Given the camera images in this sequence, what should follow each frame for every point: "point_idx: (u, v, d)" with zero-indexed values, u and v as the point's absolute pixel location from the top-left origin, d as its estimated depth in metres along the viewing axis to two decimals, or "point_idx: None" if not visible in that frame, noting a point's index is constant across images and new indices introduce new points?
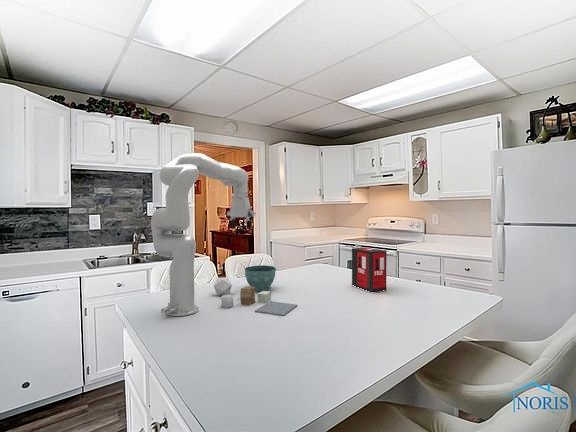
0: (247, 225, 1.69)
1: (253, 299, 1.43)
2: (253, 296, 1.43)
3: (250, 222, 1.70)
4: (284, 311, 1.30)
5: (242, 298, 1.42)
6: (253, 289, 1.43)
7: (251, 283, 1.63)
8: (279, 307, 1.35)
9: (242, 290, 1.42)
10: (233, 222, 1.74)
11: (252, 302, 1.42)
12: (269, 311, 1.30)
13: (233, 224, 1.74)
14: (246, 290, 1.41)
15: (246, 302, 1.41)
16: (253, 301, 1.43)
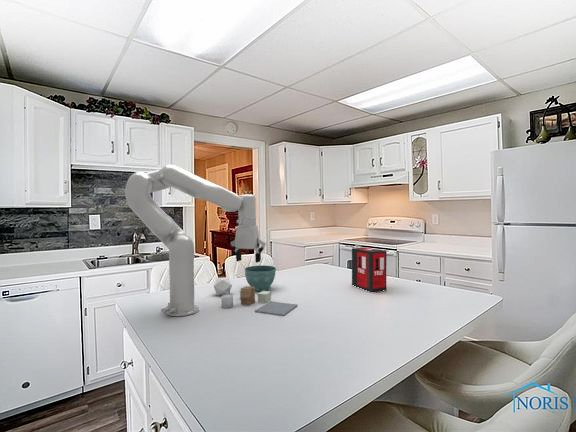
0: (256, 258, 1.39)
1: (253, 299, 1.43)
2: (253, 296, 1.43)
3: (259, 254, 1.40)
4: (284, 311, 1.30)
5: (242, 298, 1.42)
6: (253, 289, 1.43)
7: (251, 283, 1.63)
8: (279, 307, 1.35)
9: (242, 290, 1.41)
10: (239, 254, 1.44)
11: (252, 302, 1.42)
12: (269, 311, 1.30)
13: (239, 256, 1.44)
14: (246, 290, 1.41)
15: (246, 302, 1.41)
16: (253, 301, 1.43)
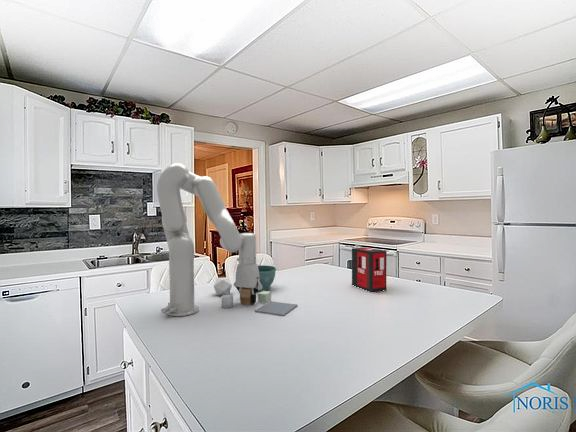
0: (251, 300, 1.41)
1: None
2: None
3: (255, 295, 1.42)
4: (284, 311, 1.30)
5: (242, 298, 1.42)
6: None
7: None
8: (279, 307, 1.35)
9: (242, 290, 1.42)
10: None
11: None
12: (269, 311, 1.30)
13: None
14: (246, 290, 1.41)
15: (246, 302, 1.41)
16: None
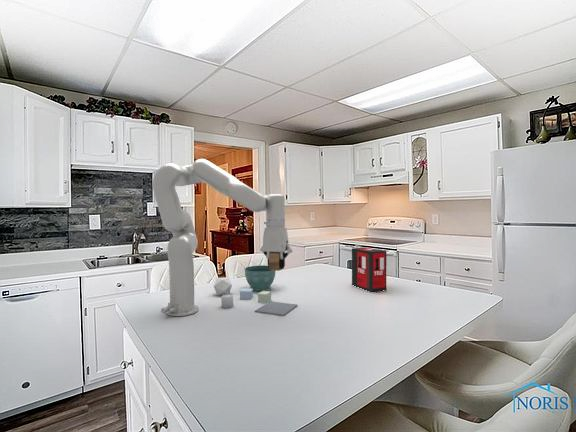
0: (280, 265, 1.32)
1: None
2: None
3: (283, 260, 1.33)
4: (284, 311, 1.30)
5: (270, 263, 1.33)
6: None
7: (251, 283, 1.63)
8: (279, 307, 1.35)
9: (270, 254, 1.33)
10: None
11: None
12: (269, 311, 1.30)
13: None
14: (275, 254, 1.32)
15: (274, 267, 1.33)
16: None
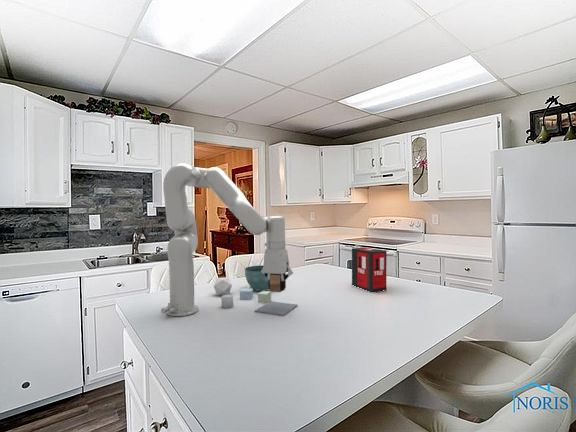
0: (281, 286, 1.32)
1: None
2: None
3: (284, 282, 1.34)
4: (284, 311, 1.30)
5: (271, 285, 1.34)
6: None
7: (251, 283, 1.63)
8: (279, 307, 1.35)
9: (271, 276, 1.33)
10: None
11: None
12: (269, 311, 1.30)
13: None
14: (275, 276, 1.33)
15: (275, 289, 1.33)
16: None
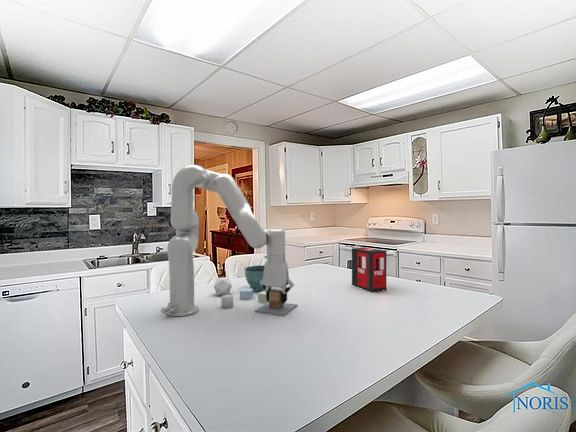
0: (282, 299, 1.32)
1: (282, 303, 1.35)
2: None
3: (286, 295, 1.33)
4: (284, 311, 1.30)
5: (270, 302, 1.34)
6: (282, 292, 1.35)
7: (251, 283, 1.63)
8: None
9: (270, 293, 1.34)
10: None
11: (281, 306, 1.34)
12: (269, 311, 1.30)
13: None
14: (275, 293, 1.33)
15: (274, 306, 1.33)
16: (282, 305, 1.35)
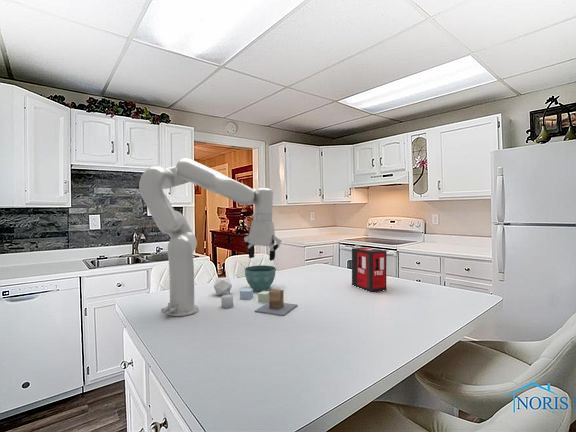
0: (270, 256, 1.32)
1: (282, 303, 1.35)
2: (282, 299, 1.35)
3: (274, 252, 1.33)
4: (284, 311, 1.30)
5: (270, 302, 1.34)
6: (282, 292, 1.35)
7: (251, 283, 1.63)
8: None
9: (270, 293, 1.34)
10: (252, 250, 1.37)
11: (281, 306, 1.34)
12: (269, 311, 1.30)
13: (252, 253, 1.37)
14: (275, 293, 1.33)
15: (274, 306, 1.33)
16: (282, 305, 1.35)
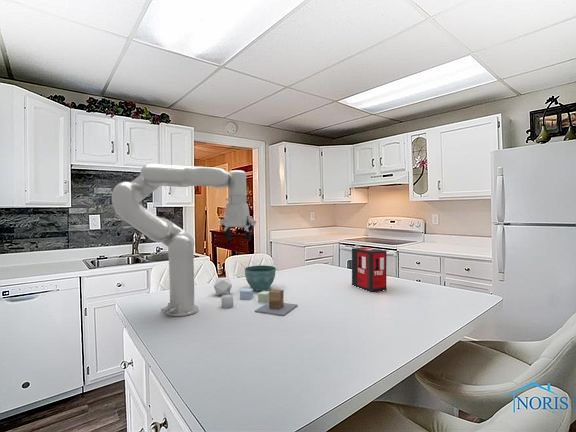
0: (246, 237, 1.34)
1: (282, 303, 1.35)
2: (282, 299, 1.35)
3: (249, 233, 1.35)
4: (284, 311, 1.30)
5: (270, 302, 1.34)
6: (282, 292, 1.35)
7: (251, 283, 1.63)
8: None
9: (270, 293, 1.34)
10: (228, 233, 1.39)
11: (281, 306, 1.34)
12: (269, 311, 1.30)
13: (228, 235, 1.39)
14: (275, 293, 1.33)
15: (274, 306, 1.33)
16: (282, 305, 1.35)
